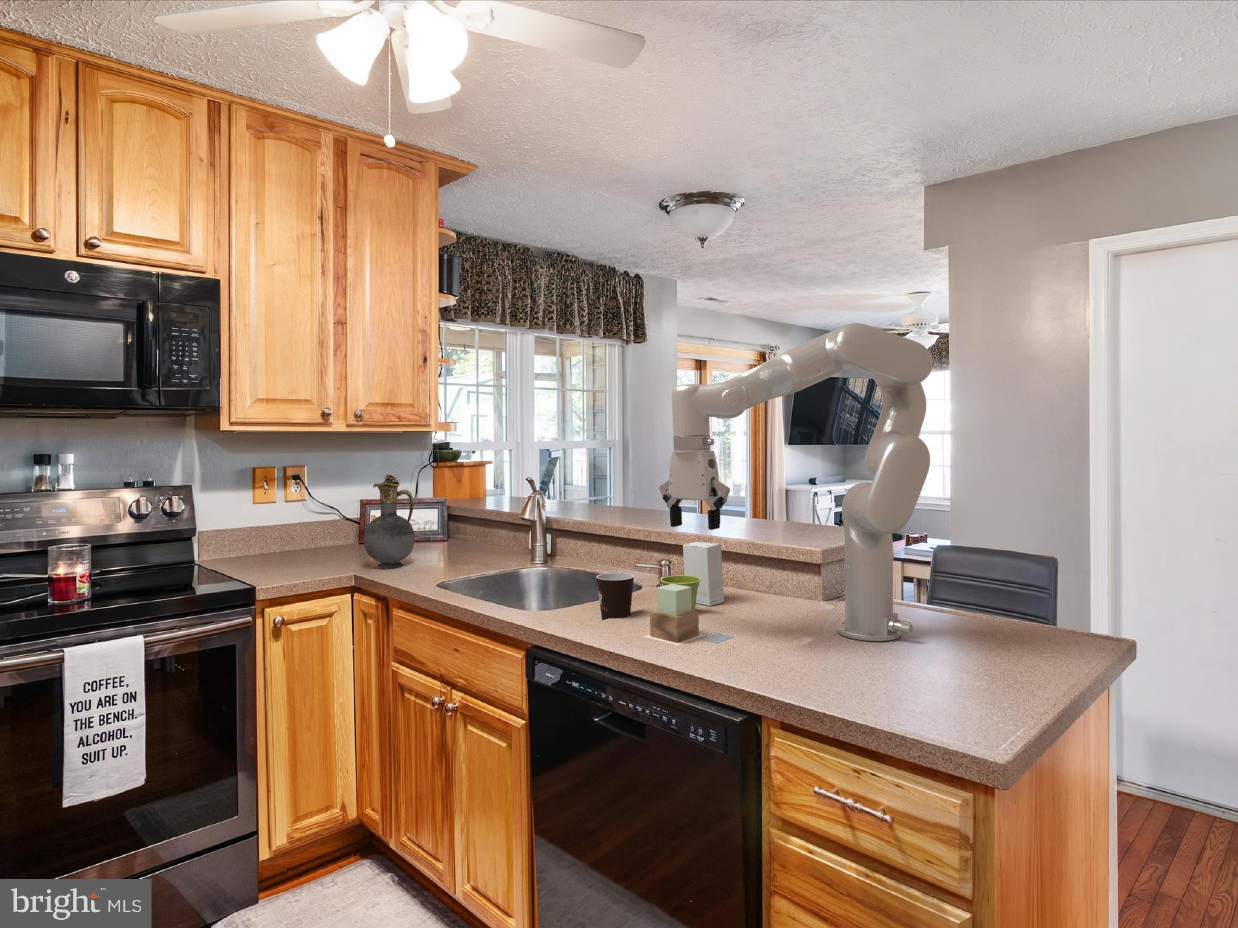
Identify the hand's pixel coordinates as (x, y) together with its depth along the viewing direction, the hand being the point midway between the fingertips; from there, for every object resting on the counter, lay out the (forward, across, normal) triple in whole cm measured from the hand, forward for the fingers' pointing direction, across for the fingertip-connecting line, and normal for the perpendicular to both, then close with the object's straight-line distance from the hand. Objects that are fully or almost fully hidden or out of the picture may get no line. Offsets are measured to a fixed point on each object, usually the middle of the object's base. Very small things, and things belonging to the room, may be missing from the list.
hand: (694, 527), depth 150 cm
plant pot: (+23, +14, -12) cm, 29 cm away
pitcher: (+21, +125, -3) cm, 127 cm away
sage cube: (+17, +2, +6) cm, 18 cm away
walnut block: (+22, +2, +6) cm, 23 cm away
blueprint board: (+23, +1, +5) cm, 23 cm away
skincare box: (+23, +17, -26) cm, 39 cm away
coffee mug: (+23, +24, -1) cm, 33 cm away
